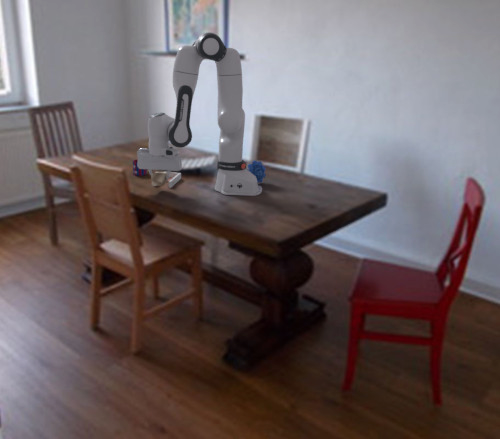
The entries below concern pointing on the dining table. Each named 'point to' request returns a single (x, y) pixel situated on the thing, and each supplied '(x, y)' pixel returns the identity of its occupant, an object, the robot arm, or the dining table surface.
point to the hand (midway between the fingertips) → (160, 179)
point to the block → (158, 178)
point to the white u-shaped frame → (173, 178)
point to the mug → (138, 171)
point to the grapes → (257, 170)
